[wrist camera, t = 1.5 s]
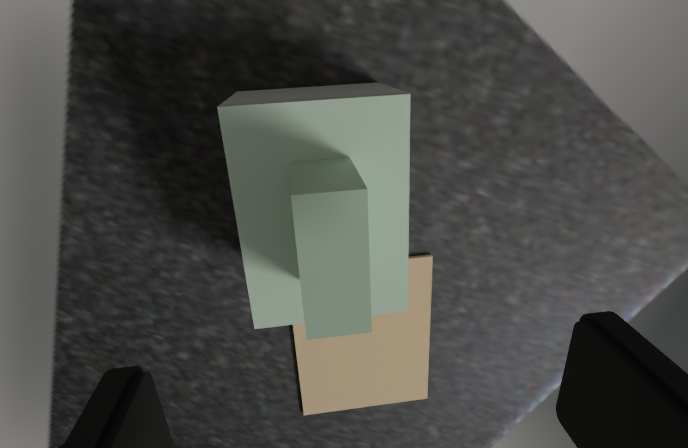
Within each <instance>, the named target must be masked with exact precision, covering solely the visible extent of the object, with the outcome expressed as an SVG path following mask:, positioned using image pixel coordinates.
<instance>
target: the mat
mask: <svg viewBox="0 0 688 448" xmlns="http://www.w3.org/2000/svg"><path fill="white" fill-rule="evenodd" d="M432 260H433V256H432V255H431V254H429V255H419V256H410V257H408V311H405V312H396V313H387V314H379V315H371V321H372V332H370V333H362V334H353V335H345V336H337V337H329V338H320V339H312V340H306V331H305V323H302V324H294V325H293V331H294V339H295V348H296V356H297V364H298V372H299V380H300V388H301V396H302V404H303V412H304V415H310V414H317V413H324V412H332V411H339V410H346V409H353V408H361V407H368V406H375V405H383V404H390V403H397V402H404V401H412V400H419V399H426V398H427V392H428V365H429V339H430V313H431V286H432Z"/></svg>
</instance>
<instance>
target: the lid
mask: <svg viewBox="0 0 688 448" xmlns="http://www.w3.org/2000/svg"><path fill="white" fill-rule="evenodd" d="M217 109H218V115H219V121H220V127H221V133H222V139H223V145H224V151H225V157H226V163H227V169H228V175H229V181H230V186H231V192H232V198H233V204H234V210H235V216H236V222H237V228H238V234H239V240H240V246H241V252H242V258H243V263H244V269H245V275H246V281H247V287H248V293H249V299H250V305H251V311H252V317H253V323H254V329H259V328H268V327H276V326H285V325H294V324H302V323H305V331H306V340H312V339H320V338H329V337H337V336H345V335H353V334H362V333H370V332H372V321H371V315H379V314H387V313H396V312H405V311H408V251H409V166H410V94H409V93H406V92H400V93H386V94H371V95H356V96H341V97H326V98H311V99H296V100H282V101H267V102H252V103H237V104H222V105H219V106H218V107H217Z"/></svg>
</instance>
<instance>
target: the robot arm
mask: <svg viewBox="0 0 688 448" xmlns="http://www.w3.org/2000/svg"><path fill="white" fill-rule="evenodd" d="M556 413H557V417H558V419H559V421H560V423H561V425H562V426H563V428H564V429H565V431H566V432H567V433H568V435H569V436H570V438H571V439H572V441H573V442H574V443H575V445H576V446H577V448H688V374H687V373H686V372H685V371H683V370H682V369H681V368H680V367H679V366H677V365H676V364H675V363H674V362H673V361H671V360H670V359H669V358H668V357H667V356H666V355H664V354H663V353H662V352H661V351H660V350H659V349H657V348H656V347H655V346H654V345H652V344H651V343H650V342H649V341H648V340H647V339H646V338H644V337H643V336H642V335H641V334H640V333H638V332H637V331H636V330H635V329H634V328H633V327H631V326H630V325H629V324H628V323H627V322H625V321H624V320H623V319H622V318H621V317H619V316H618V315H617V314H615V313H614V312H610V311H607V312H598V313H589V314H584V315H583V316H582V317H581V318H580V321H579V322H576V323H575V325H574V329H573V333H572V338H571V342H570V347H569V351H568V355H567V360H566V364H565V369H564V373H563V378H562V382H561V386H560V391H559V395H558V400H557V404H556ZM59 448H175V447H174V444H173V441H172V438H171V434H170V431H169V428H168V425H167V422H166V419H165V416H164V413H163V409H162V406H161V403H160V400H159V397H158V394H157V391H156V388H155V385H154V381H153V378H152V376H151V374H150V373H149V372H143V370H142V368H141V367H140V366H131V367H122V368H114V369H109V370H107V371H106V372H105V374H104V375H103V377H102V378H101V380H100V382H99V384H98V385H97V387H96V389H95V391H94V392H93V394H92V396H91V398H90V400H89V401H88V403H87V405H86V407H85V408H84V410H83V412H82V414H81V415H80V417H79V419H78V421H77V422H76V424H75V426H74V428H73V429H72V431H71V433H70V435H69V437H68V438H67V440H66V442H65V444H63V445H61V446H60V447H59Z"/></svg>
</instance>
